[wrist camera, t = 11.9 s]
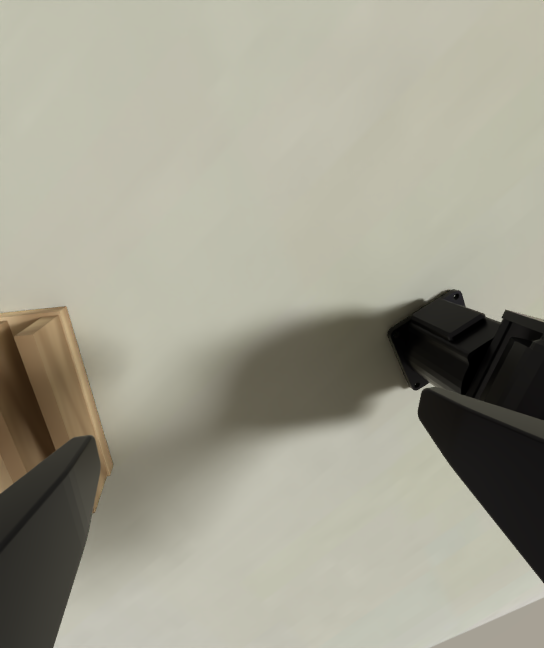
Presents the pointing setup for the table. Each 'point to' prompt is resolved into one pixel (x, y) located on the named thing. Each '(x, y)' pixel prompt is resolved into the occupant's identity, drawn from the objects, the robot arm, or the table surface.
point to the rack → (43, 393)
